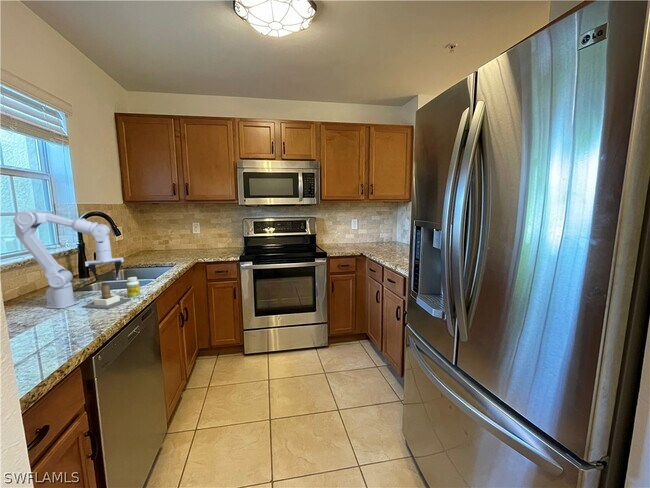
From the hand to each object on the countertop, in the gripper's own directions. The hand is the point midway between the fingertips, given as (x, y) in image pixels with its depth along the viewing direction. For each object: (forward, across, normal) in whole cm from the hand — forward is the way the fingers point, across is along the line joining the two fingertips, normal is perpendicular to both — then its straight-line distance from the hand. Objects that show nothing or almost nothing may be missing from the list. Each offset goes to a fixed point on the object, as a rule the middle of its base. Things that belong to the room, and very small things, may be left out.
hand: (107, 278), depth 142 cm
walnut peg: (+10, -1, -6) cm, 12 cm away
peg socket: (+10, -1, -6) cm, 12 cm away
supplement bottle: (+11, +10, -2) cm, 15 cm away
